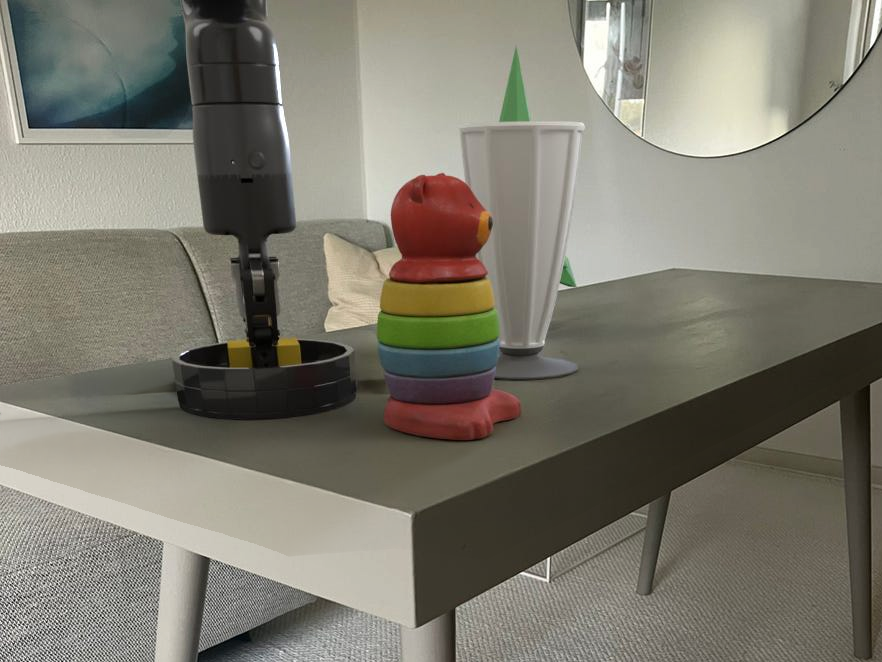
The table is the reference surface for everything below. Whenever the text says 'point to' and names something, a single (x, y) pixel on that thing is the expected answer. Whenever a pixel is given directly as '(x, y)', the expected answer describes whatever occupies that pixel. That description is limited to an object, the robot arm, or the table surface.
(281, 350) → the sponge
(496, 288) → the cup
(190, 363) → the bowl
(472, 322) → the stacking bear
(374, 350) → the table surface
